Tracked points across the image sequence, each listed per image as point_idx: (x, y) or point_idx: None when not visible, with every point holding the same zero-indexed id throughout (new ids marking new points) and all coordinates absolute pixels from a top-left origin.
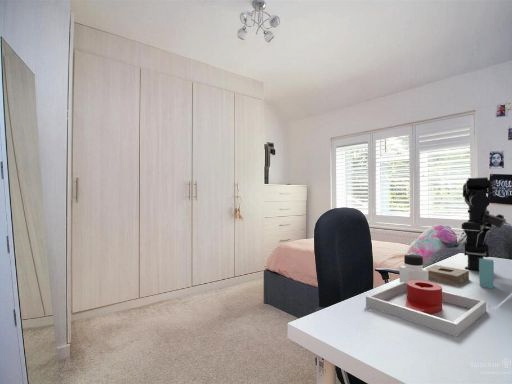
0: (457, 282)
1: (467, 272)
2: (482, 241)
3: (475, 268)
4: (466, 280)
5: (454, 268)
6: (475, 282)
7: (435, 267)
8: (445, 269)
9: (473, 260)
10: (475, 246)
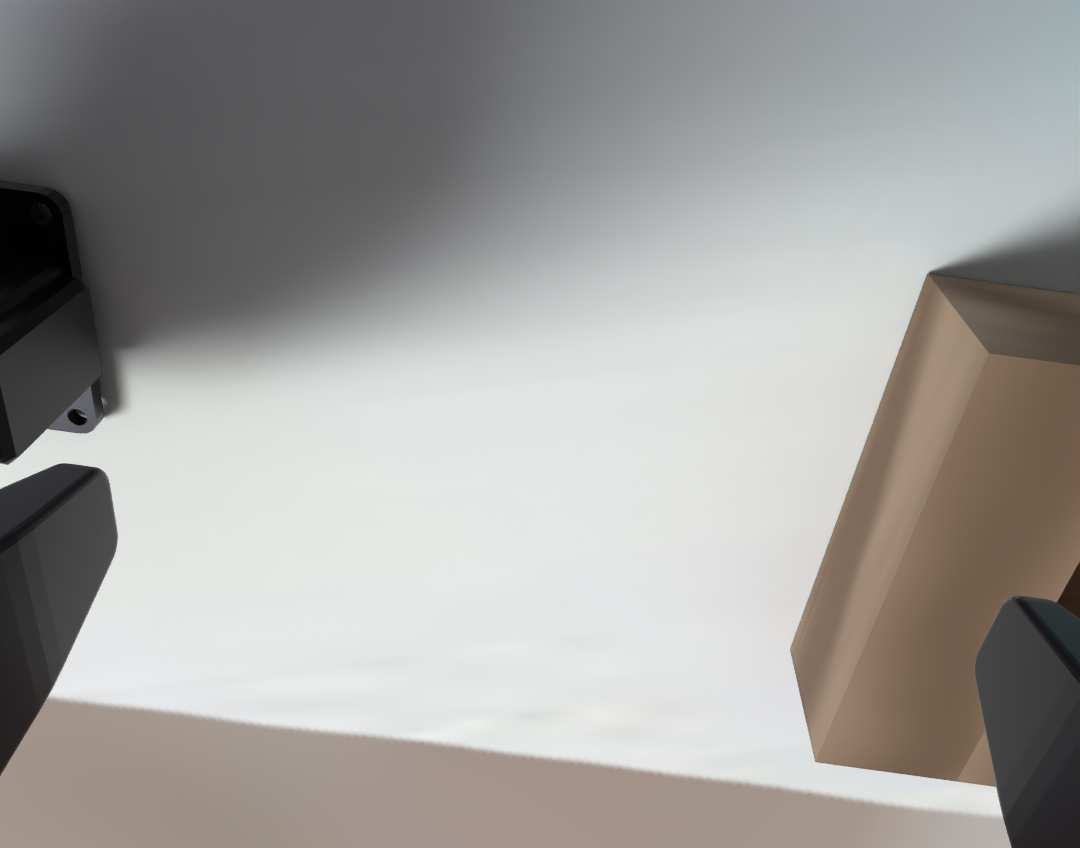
0: None
1: (1064, 354)
2: (27, 574)
3: (84, 298)
4: (1060, 302)
5: (933, 549)
6: (976, 179)
7: None
8: None
9: (6, 397)
10: (1074, 633)
